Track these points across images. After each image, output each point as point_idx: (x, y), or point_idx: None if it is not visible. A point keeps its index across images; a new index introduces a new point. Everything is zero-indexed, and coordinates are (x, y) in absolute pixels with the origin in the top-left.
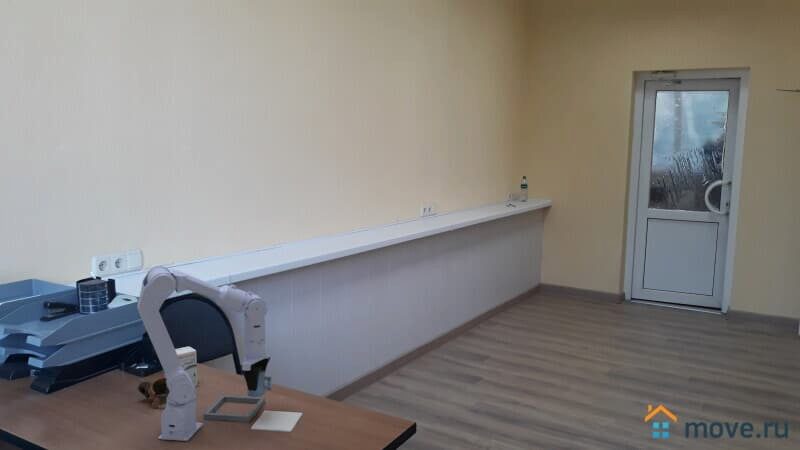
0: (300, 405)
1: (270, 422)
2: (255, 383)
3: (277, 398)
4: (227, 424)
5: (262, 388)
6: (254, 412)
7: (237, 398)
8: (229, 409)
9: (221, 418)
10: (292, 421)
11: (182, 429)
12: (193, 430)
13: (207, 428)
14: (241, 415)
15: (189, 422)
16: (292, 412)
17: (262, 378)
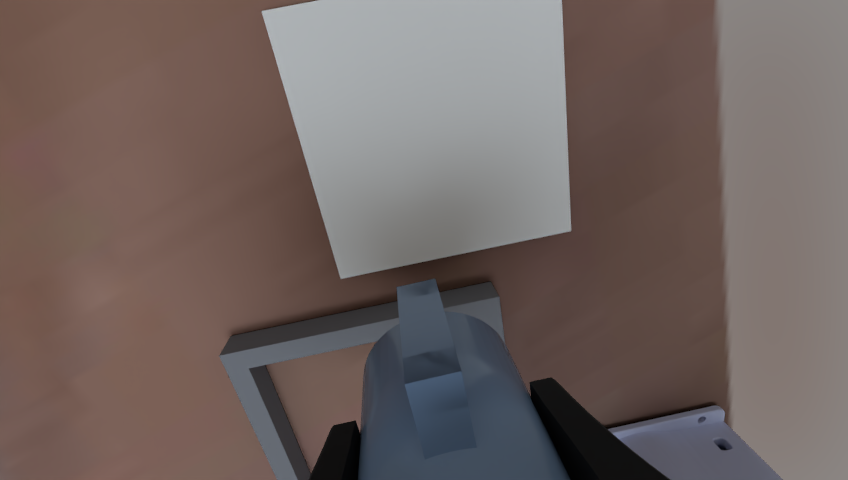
0: (137, 106)
1: (479, 161)
2: (605, 440)
3: (134, 305)
4: (537, 357)
5: (474, 354)
6: None
7: (296, 467)
8: None
9: None
10: (423, 18)
11: (761, 461)
12: (653, 433)
13: (592, 405)
14: None
15: (708, 476)
16: (289, 94)
17: (501, 448)
